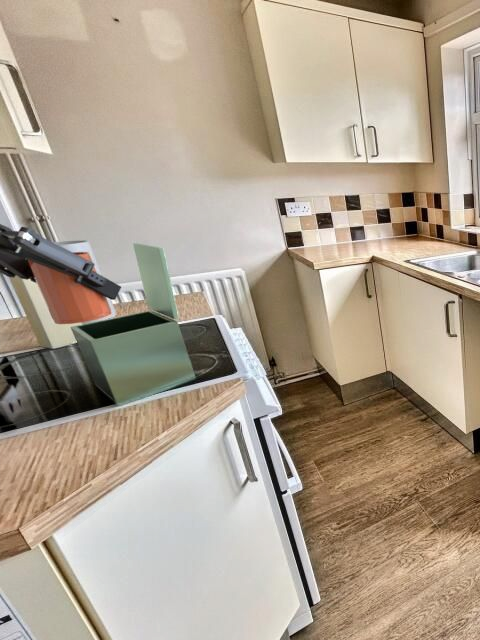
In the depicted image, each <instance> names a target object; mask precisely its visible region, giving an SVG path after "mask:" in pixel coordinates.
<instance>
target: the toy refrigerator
mask: <svg viewBox="0 0 480 640" xmlns="http://www.w3.org/2000/svg"><path fill="white" fill-rule="evenodd" d="M8 279H9V282H10V284H11V285H12V289H13V290H14V292H15V294H16V296H17V299H18V301H19V303H20V305H21V307H22V310H23V311H24V314H25V316H26V319H27V320H28V322H29V323H28V324H29V325H30V327H31V329H32V331H33V333H34V336H35V338H36V340H37V342H38V345H39V346H40V347H41V348H46V349H51V350H56V349H59V348H62V347H63V348H64V347H66V346H70V345H74V344H77V342H76V339H75V337H74V334H73V332H72V330H71V327H73V326H77V325H82V323H74V324H56V323H55V322H54V320H53V319H52V317H51V314H50V312H49V310H48V308H47V305H46V303H45V301H44V299H43V296H42V294H41V292H40V290H39V287H38V285H37V283H35V282H32V281H30V280H31V279H28V280H27V279H22V278H20V277H18V276H17V275H16V276H15V277H14V278H13V277H8ZM73 342H75V343H73ZM70 343H71V344H70Z"/></svg>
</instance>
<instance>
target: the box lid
mask: <svg viewBox="0 0 480 640" xmlns="http://www.w3.org/2000/svg"><path fill="white" fill-rule="evenodd" d="M132 245H133V249H134V254H135V258H136V262H137V267H138V270H139V275H140V278H141V283H142V288H143V292H144V295H145V300H146V305H147V308H148V309H149V310H152V311H154V312H157V313H159V314H161V315H164V316H166V317H168V318H171V319H173V320H179V319H180V317H179V312H178V308H177V304H176V299H175V293H174V289H173V285H172V279H171V276H170V270H169V266H168V262H167V257H166V253H165V248H163V247H159V246H153V245H148V244H144V243H143V244H142V243H137V242H136V243H133V244H132Z"/></svg>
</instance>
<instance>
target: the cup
mask: <svg viewBox="0 0 480 640" xmlns="http://www.w3.org/2000/svg"><path fill="white" fill-rule="evenodd" d="M73 253H75V254H77V255H79V256H80V257H82V258H84V259H86V260H88V261H90V262H92V259H91V257H90V254H89V253H88V252H73ZM26 260H27V259H26ZM27 262H28V265H29V267H30V269H31V272H32V274H33V276H34V278H35V281H36V283H37V285H38V287H39V290H40V292H41V294H42V296H43V299H44V301H45V303H46V305H47V308H48V310H49V312H50V314H51V317H52V319H53V320H54V322H55V323H56V324H74V323H81V322H87V321H92V320H96V319H100V318H103V317H106V316H108V315H110V314H111V309H110V306H109V303H108V301H107V298H106V297H105V296H103V295H101V294H99V293H97V292H95V291H94V290H92V289H90V288H88V287H86V286H84V285H82V284H80V283H75V282H74V280H75V278H74V277H71V276H69V275H66V274H63V273H61V272H58V271H56V270H53V269H50V268H48V267H45V266H43V265H40V264H37V263H35V262H32V261H30V260H27ZM92 263H93V262H92ZM92 271H94V272H96V270H95V267H93V269H92ZM96 273H97V272H96Z"/></svg>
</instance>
